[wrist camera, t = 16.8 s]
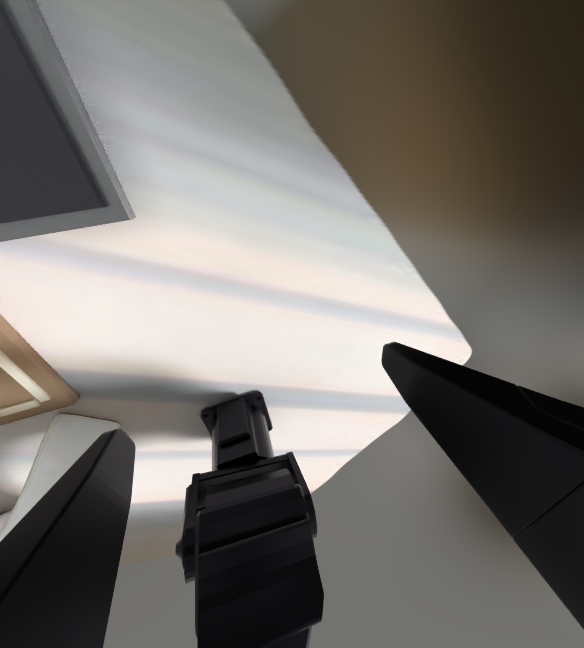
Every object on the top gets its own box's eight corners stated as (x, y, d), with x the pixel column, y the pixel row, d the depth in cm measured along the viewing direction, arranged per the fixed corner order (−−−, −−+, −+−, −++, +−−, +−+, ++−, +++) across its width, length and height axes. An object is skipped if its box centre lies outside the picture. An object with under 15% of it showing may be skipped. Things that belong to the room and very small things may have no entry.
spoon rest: (82, 543, 29) (49, 633, 24) (-59, 554, 24) (-149, 677, 18) (160, 424, 23) (142, 504, 17) (-5, 396, 17) (-117, 505, 11)
